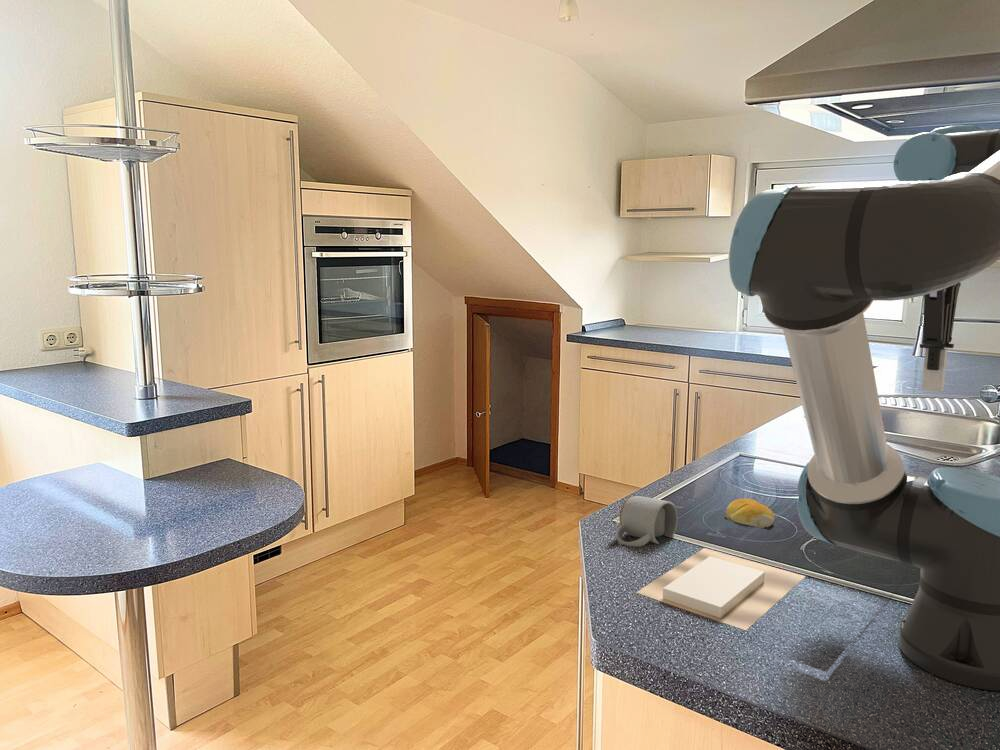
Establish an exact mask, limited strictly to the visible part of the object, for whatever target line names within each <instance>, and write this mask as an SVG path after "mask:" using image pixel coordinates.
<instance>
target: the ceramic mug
mask: <svg viewBox="0 0 1000 750" xmlns="http://www.w3.org/2000/svg"><path fill="white" fill-rule="evenodd" d="M677 510H678V509H677V507H676V505H675V504H674V503H673V502H671V501H668V500H663V499H658V498H652V497H647V496H640V495H634V496H630V497H628V498H627V499H626V500H625V501H624V502H623V504H622V506H621V508H620V512H619V525H620V527H619V528H618V530H617V531H616V540H617V542H618V545H620V546H621V545H624V546H628V547H643V546H645V545H646V544H648V543H649V542H650V543H653V544H655V545H658V544H660V542H659V541H658V540H657V539H656V538H658V537H662V536H663V535H664V536H665V537H668V538H673V537H674V536H675V533H676V531H677V528H678V519H679V518H678V511H677ZM625 533H626V534H627V535H629V536H630V537H631V536H632V537H635V538H638V539H635V540H633V541H624V539H622V536H623V535H624V534H625Z"/></svg>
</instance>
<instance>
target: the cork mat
mask: <svg viewBox="0 0 1000 750" xmlns="http://www.w3.org/2000/svg"><path fill="white" fill-rule="evenodd" d="M709 556H711V557H715V558H718V559H722V560H725V561H729V562H732V563H736V564H739V565H743V566H746V567H750V568H753V569H757V570H760V571H764V572H765V579H764V582H763V583H762V584H761V585H760V586H759V587H757V588H756V589H755V590H754V591H753V592H751V593H750V594H749V595H748V596H747V597H745V598H744V599H743V600H742V601H740V602H739V603H738V604H737V605H736V606H734V607H733V608H732V609H731V610H730V611H728V612H727V613H726V614H725V615H724V616H722V617H721V618H719V617H716V616H713V615H710V614H707V613H704V612H701V611H698V610H695V609H692V608H690V607H687V606H684V605H681V604H678V603H675V602H672V601H669V600H666V599H663V588H664V587H665V586H667V585H668V584H670V583H671V582H673V581H674V580H676V579H677V578H679V577H680V576H682V575H683V574H684V573H686V572H687V571H689V570H690V569H692V568H693V567H695V566H696V565H698V564H699V563H701V562H702V561H704V560H705V559H707V558H708V557H709ZM804 578H806V575H804V574H803V575H802V574H799V573H796V572H792V571H788V570H785V569H781V568H777V567H776V566H775V567H773V566H770V565H768V564H763V563H759V562H758V561H757V562H756V561H753V560H749V559H745V558H742V557H739V556H735V555H731V554H728V553H725V552H721V551H718V550H712V549H710V548H706V547H703V548H702V549H701V550H699V551H697V552H696V553H694V554H693V555H691V556H690V557H688V558H686V559H685V560H684V561H682V562H680V563H679V564H677V565H676V566H673V568H672V569H670V570H668V571H667V572H665V573H663V574H662V575H661V576H659V577H658V578H656V579H654V580H653V581H651V582H650V583H649V584H646V586H643V587H642V588H641V589H639V590H638V591H636V594H638V595H640V596H644V597H647V598H649V599H652V600H655V601H659V602H661V603H665V604H667V605H670V606H673V607H676V608H680V609H681V610H684V611H687V612H691V613H693V614H697V615H699V616H702V617H705V618H708V619H710V620H714V621H716V622H719V623H723V624H725V625H729V626H732V627H734V628H737V629H740V630H744V631H747V630H749V629H750V628H751V627H752V626H753V625H754V624H755V623H756V622H758V621H759V620H760V619H761V618H762V617H763V616H764V615H765V614H766V613H767V612H769V611H770V609H772V608H773V607H774V606H775V605H776V604H777V603H778V602H779V601H781V600H782V598H784V597H785V596H786V595H787V594H788V593H789V592H790V591H791V590H793V589H794V588H795V586H797V585H798V584H799V583H800V582H801V581H802V580H803V579H804Z"/></svg>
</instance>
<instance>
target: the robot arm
mask: <svg viewBox="0 0 1000 750" xmlns="http://www.w3.org/2000/svg"><path fill="white" fill-rule="evenodd" d="M893 171H894V174H895V177H896V179H897V181H894V180H893V181H884V182H869V183H851V184H850V183H849V184H836V185H835V184H834V185H832V184H831V185H818V186H802V187H801V186H799V185H790V186H789V187H782V188H775V189H767V190H761V191H760V192H758V193H756V194H755V195H753V196H752V197H751V198H750V199H749V200H748V201H747V202H746V204H745V205H744V207H742V210H741V212H740V214H739V215H738V218H737V220H736V222H735V226H734V229H733V234H732V236H731V241H730V246H729V253H728V254H729V256H728V257H729V258H728V259H729V261H728V265H729V267H728V268H729V274H730V279H731V282H732V285H733V287H734V288H735V290H736V291H737V292H739V293H741V294H743V295H746V296H747V297H755V296H758V297H759V298H760V302H761V306H762V308H763V312H764V313H763V314H764V316H765V318H766V320H767V321H768V322H769V323H770V324H771V325H772V326H774V327H776V328H778V329H780V330H782V331H783V334H784V335H783V336H784V339H785V343H786V346H787V350H788V354H789V358H790V362H791V366H792V371H793V375H794V378H795V382H796V386H797V390H798V394H799V398H800V403H801V406H802V409H803V414H804V416H805V417H804V418H805V422H806V425H807V429H808V434H809V437H810V441H811V446H812V450H813V456H812V458H810V460H809V461H808V462H807V463H806V465H805V466H804V468H803V469H802V471H801V472H800V473H801V474H800V475H799V479H798V482H797V490H796V494H797V495H798V498H797V500H796V507H797V508H796V509H797V514H798V518H799V520H800V523H801V525H802V527H803V528H804V530H805V531H806V532H807V533H808V534H809V535H810V536H812V537H813V538H815V539H817V540H821V541H823V542H825V543H828V544H830V545H832V546H835V547H839V548H846V549H849V550H853V551H857V552H860V553H864V554H867V555H871V556H872V555H873V556H876V557H880V558H883V559H887V560H892V561H894V562H898V563H901V564H905V565H909V566H912V567H916V568H919V569H920V570H919V572H920V576H919V577H920V578H919V586H918V590H917V592H916V595H914V598H913V601H912V603H911V606H910V608H909V611H908V612H907V615H906V616H904V618H903V619H902V621H901V623H900V626H899V633H898V647H899V649H900V651H901V652H902V653H903V655H904V656H905V657H906V658H907V659H908V660H909V661H910V662H911V663H914V664H915V666H918V667H920V668H921V669H923V670H924V671H926V672H928V673H930V674H932V675H934V676H936V677H939V678H941V679H943V680H946V681H949V682H952V683H955V684H958V685H962V686H965V687H969V688H970V687H971V688H976V689H980V690H981V689H982V690H987V691H999V692H1000V477H999V476H996V475H993V474H989V473H985V472H982V471H979V470H974V469H968V468H963V469H961V468H957V467H952V466H951V467H947V466H946V467H939V468H938V467H937V468H935V469H933V470H932V471H931V472H930V474H929V475H928V476H925V475H921V474H916V473H911V472H906V468H905V464H904V461H903V459H902V456H901V454H900V453H899V452H898V451H897V450H896V449H895V448H894V447H892V446H891V445H890V444H888V443H887V438H886V433H885V427H884V421H883V415H882V409H881V405H880V399H879V393H878V387H877V382H876V377H875V370H874V365H873V359H872V354H871V348H870V344H869V343H870V342H869V339H868V338H869V337H868V332H867V327H866V320H865V314H864V313H865V312H866V311H867V310H868V309H869V308H870V307H871V306H872V304H873V303H874V301H884V302H885V301H886V302H887V301H888V302H889V301H891V302H892V301H898V300H899V301H900V300H908V299H912V298H919V297H923V298H924V299H923V300H924V301H923V326H922V327H923V329H922V343H920V344H919V348H920V349H925V350H924V360H923V361H924V362H923V371H922V383H921V390H922V391H929V392H938V393H942V392H943V391H945V390H944V389H945V378H946V367H947V366H946V365H947V359H948V358H947V357H948V349H954V345H955V344H954V343H951V342H952V340H953V337H952V335H953V329H954V325H955V324H954V322H955V316H956V309H957V303H958V298H959V297H958V296H959V291H960V287H962V284H961V282H963V281H965V280H967V279H969V278H972V277H974V276H975V275H977V274H979V273H982V272H983V271H984V270H986V269H988V268H989V267H991V266H992V265H994V264H995V263H996V262H998V261H999V260H1000V128H999V129H987V130H986V129H985V127H983V126H981V125H967V124H966V125H965V124H963V125H949V126H944V127H937V128H934V129H933V130H931V131H930V132H920V133H917V134H914V135H913V136H910V137H909V138H907V139H906V140H905V141H904V142H903V143H902V144H901V145H900V146H899V148H898V149H897V150H896V153H895V156H894V159H893Z"/></svg>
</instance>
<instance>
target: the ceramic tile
mask: <svg viewBox="0 0 1000 750" xmlns="http://www.w3.org/2000/svg"><path fill="white" fill-rule="evenodd" d="M764 579H765V572H764V571H760V570H757V569H753V568H750V567H746V566H743V565H739V564H736V563H732V562H729V561H725V560H722V559H718V558H715V557H711V556H709V557H708V558H707V559H705V560H704V561H702V562H701V563H699V564H698V565H696V566H695V567H693V568H692V569H690V570H689V571H687V572H686V573H684V574H683V575H682V576H680V577H679V578H677V579H676V580H674V581H673V582H671V583H670V584H668V585H667V586H665V587H664V588H663V599H666V600H669V601H672V602H675V603H678V604H681V605H684V606H687V607H690V608H692V609H695V610H698V611H701V612H704V613H707V614H710V615H713V616H716V617H719V618H721V617H722V616H724V615H725V614H726V613H727V612H728V611H730V610H731V609H732V608H733V607H734V606H736V605H737V604H738V603H739V602H740V601H742V600H743V599H744V598H745V597H747V596H748V595H749V594H750V593H751V592H753V591H754V590H755V589H756V588H757V587H759V586H760V585H761V584H762V583H763V582H764Z"/></svg>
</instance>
